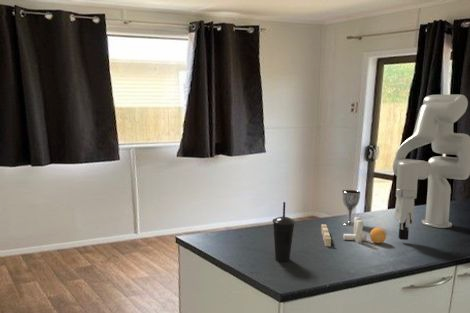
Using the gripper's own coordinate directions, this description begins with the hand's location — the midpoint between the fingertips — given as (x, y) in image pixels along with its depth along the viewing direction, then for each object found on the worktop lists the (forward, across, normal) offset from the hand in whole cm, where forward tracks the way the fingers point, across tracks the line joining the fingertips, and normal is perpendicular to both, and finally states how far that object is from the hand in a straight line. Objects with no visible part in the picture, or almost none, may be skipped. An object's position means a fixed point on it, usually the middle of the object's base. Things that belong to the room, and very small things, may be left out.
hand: (403, 238), depth 164 cm
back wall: (+2, 0, -30) cm, 30 cm away
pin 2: (+2, +2, -18) cm, 18 cm away
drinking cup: (+2, +27, -47) cm, 54 cm away
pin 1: (+2, -2, -18) cm, 18 cm away
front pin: (0, 0, -14) cm, 14 cm away
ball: (-2, +2, -10) cm, 11 cm away
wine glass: (+2, -25, -17) cm, 30 cm away
